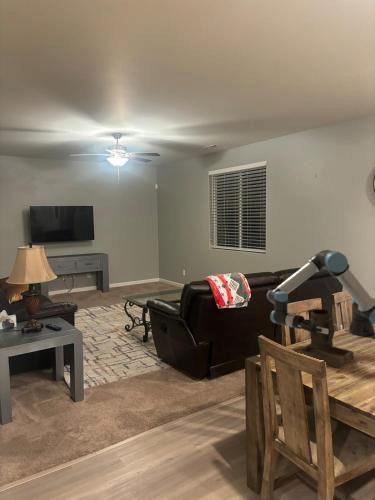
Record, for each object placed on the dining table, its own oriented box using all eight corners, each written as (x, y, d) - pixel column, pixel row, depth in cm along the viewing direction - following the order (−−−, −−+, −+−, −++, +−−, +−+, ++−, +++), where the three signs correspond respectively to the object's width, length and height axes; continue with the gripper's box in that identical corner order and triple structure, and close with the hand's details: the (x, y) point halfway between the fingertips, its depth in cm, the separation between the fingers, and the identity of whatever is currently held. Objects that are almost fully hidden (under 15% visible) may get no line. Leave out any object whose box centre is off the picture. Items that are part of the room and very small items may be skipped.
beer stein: (305, 344, 205) (306, 310, 201) (319, 339, 210) (320, 306, 206) (327, 355, 192) (329, 319, 188) (341, 350, 197) (343, 315, 193)
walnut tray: (314, 347, 215) (314, 341, 215) (353, 357, 199) (353, 351, 198) (297, 356, 203) (297, 350, 203) (337, 367, 186) (337, 361, 186)
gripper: (305, 323, 220) (342, 331, 204) (284, 331, 206) (322, 341, 189) (305, 311, 220) (342, 318, 203) (284, 318, 205) (322, 327, 188)
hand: (332, 329), depth 196 cm, fingers closed on beer stein, 9 cm apart
